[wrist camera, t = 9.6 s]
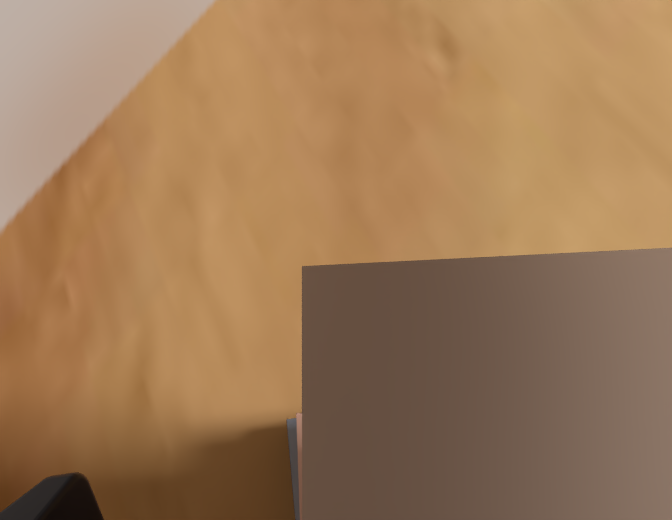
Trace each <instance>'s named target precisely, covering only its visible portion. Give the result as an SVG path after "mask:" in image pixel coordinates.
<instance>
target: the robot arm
mask: <svg viewBox="0 0 672 520" xmlns="http://www.w3.org/2000/svg"><path fill="white" fill-rule="evenodd" d="M0 520H104V519H103V516H102V514H101V511H100V509H99V506H98V504H97V501H96V499H95V496H94V494H93V491H92V489H91V486H90V484H89V482H88V480H87V478H86V477H85V476H84V475H83V474H81V473H79V472H75V473H68V474H61V475H54V476H50V477H47V478H45V479H44V480H43V481H41V482H40V483H39V484H37V485H36V486H35V487H33V488H32V489H31V490H29V491H28V492H27V493H25V494H24V495H23V496H22V497H20V498H19V499H18V500H16V501H15V502H14V503H12V504H11V505H10V506H8V507H7V508H6V509H4V510H3V511H2V512H0Z"/></svg>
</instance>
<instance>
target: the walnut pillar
mask: <svg viewBox="0 0 672 520" xmlns="http://www.w3.org/2000/svg"><path fill="white" fill-rule="evenodd" d="M302 520H672V248H658V249H638V250H618V251H598V252H578V253H558V254H538V255H518V256H498V257H478V258H458V259H438V260H418V261H398V262H378V263H358V264H338V265H319V266H302Z"/></svg>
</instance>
